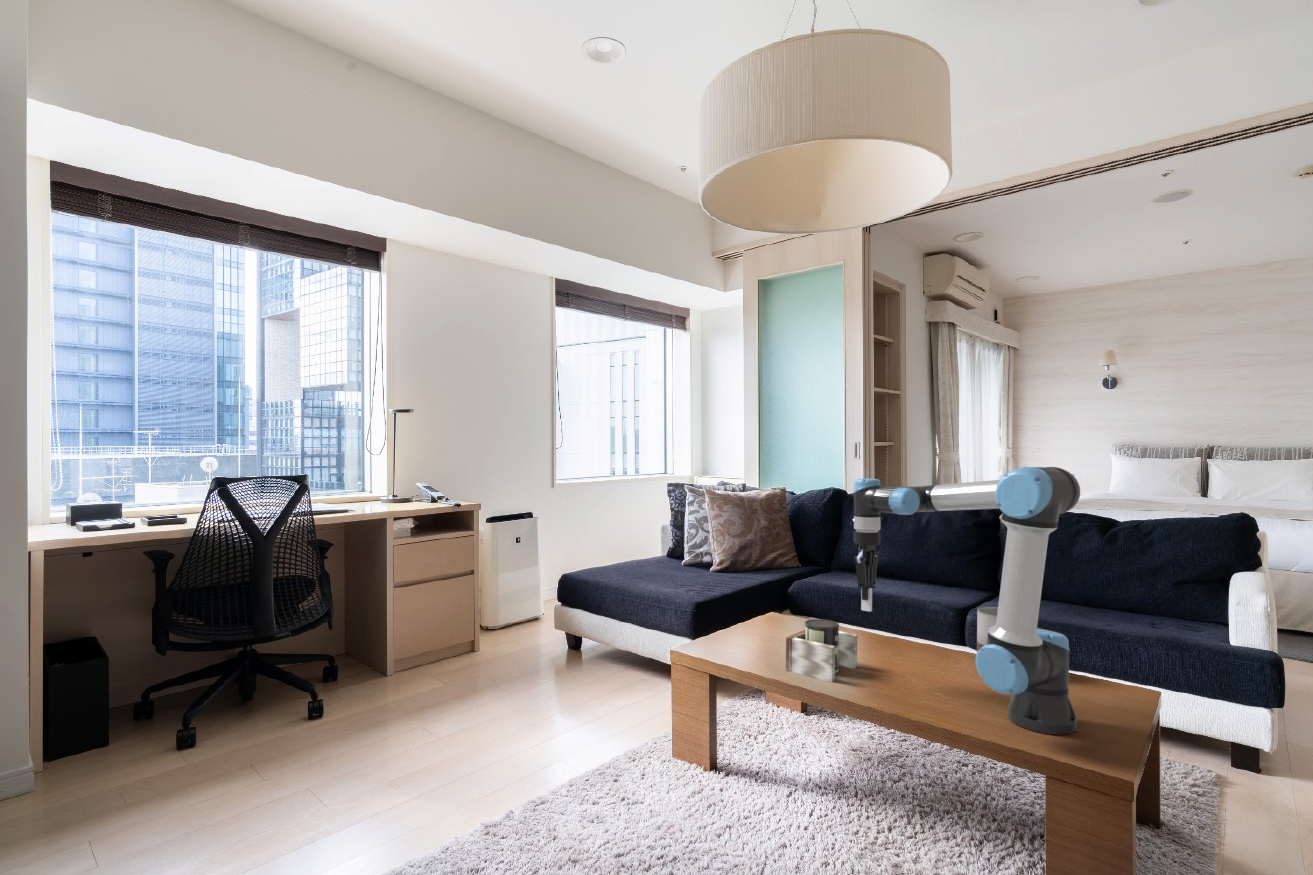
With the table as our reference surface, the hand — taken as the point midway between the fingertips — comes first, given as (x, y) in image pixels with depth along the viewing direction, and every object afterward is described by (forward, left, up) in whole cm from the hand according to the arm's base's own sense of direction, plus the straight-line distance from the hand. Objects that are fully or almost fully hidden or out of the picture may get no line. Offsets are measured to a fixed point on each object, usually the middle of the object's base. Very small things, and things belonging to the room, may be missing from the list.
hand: (866, 610), depth 198 cm
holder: (+8, +10, -20) cm, 24 cm away
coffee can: (+9, +11, -21) cm, 25 cm away
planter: (+10, -45, -21) cm, 50 cm away
